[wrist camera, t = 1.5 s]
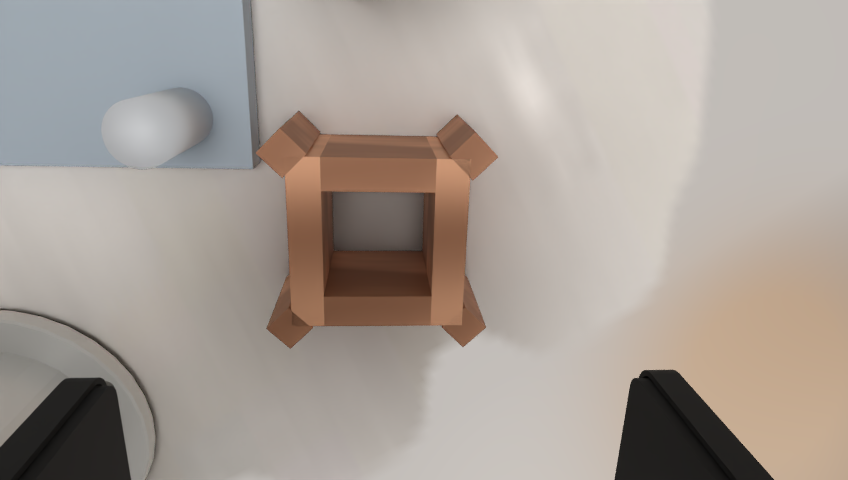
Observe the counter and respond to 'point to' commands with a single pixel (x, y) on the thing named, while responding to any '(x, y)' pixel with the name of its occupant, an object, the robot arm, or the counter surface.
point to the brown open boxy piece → (376, 270)
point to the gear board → (128, 84)
